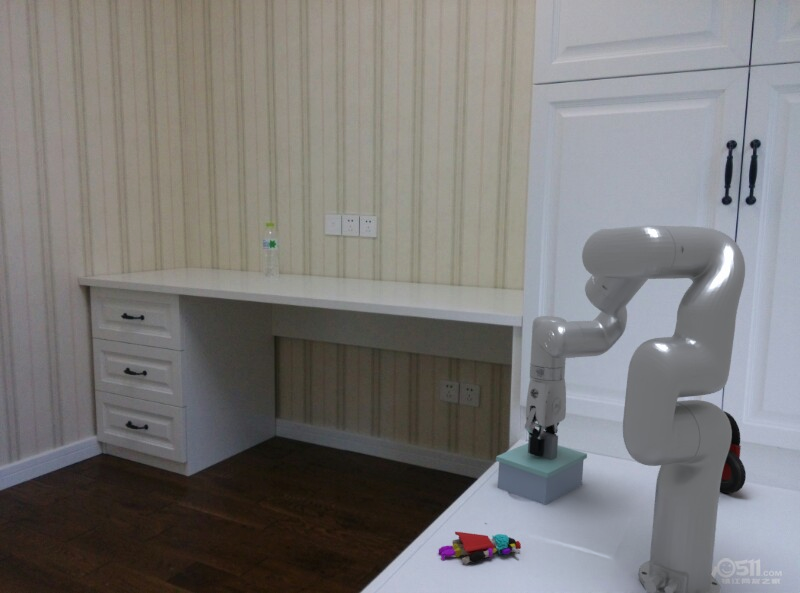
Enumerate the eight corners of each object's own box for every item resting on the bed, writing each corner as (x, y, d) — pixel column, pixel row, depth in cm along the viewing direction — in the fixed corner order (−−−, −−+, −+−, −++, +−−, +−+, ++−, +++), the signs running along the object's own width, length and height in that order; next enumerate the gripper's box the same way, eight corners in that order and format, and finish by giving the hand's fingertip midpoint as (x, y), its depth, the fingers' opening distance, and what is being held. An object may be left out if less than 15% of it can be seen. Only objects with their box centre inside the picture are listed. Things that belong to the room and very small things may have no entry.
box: (544, 508, 137) (546, 476, 136) (497, 491, 145) (499, 460, 144) (581, 487, 148) (583, 458, 148) (536, 472, 157) (537, 444, 156)
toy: (445, 569, 112) (527, 563, 115) (445, 548, 112) (528, 542, 115) (434, 547, 120) (511, 542, 123) (435, 527, 119) (512, 522, 122)
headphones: (713, 481, 155) (720, 399, 152) (750, 498, 146) (759, 411, 143) (657, 492, 147) (664, 406, 145) (693, 510, 138) (701, 419, 136)
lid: (547, 482, 135) (549, 450, 135) (495, 465, 144) (497, 434, 143) (586, 462, 148) (588, 432, 147) (536, 447, 157) (538, 419, 156)
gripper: (541, 381, 135) (536, 466, 137) (581, 370, 147) (576, 448, 149) (511, 375, 140) (506, 456, 142) (551, 364, 152) (547, 439, 154)
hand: (542, 451), depth 146 cm, fingers open, 4 cm apart
